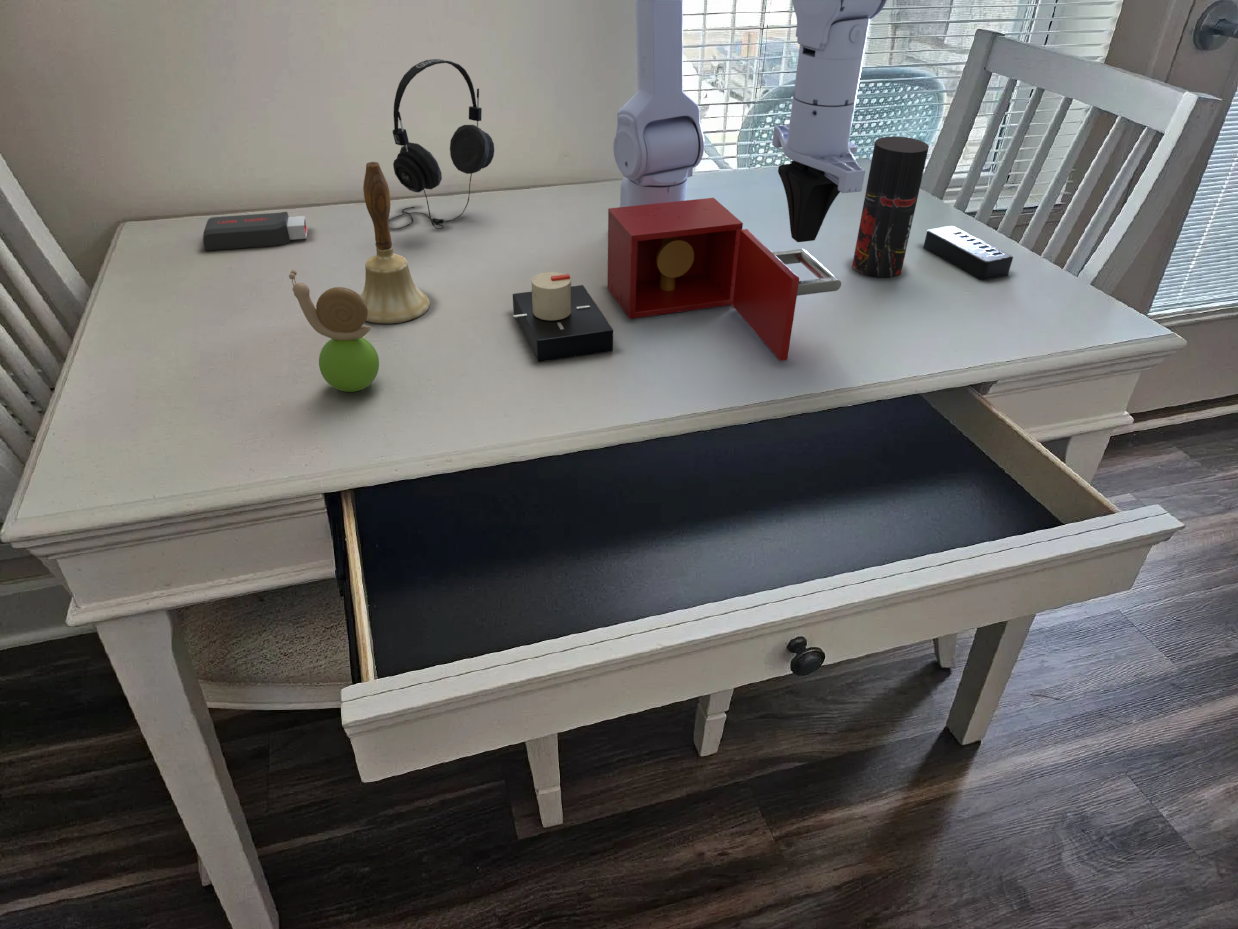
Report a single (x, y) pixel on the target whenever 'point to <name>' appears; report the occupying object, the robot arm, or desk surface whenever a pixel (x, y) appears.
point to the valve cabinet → (672, 256)
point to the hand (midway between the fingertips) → (803, 238)
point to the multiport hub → (968, 252)
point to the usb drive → (253, 231)
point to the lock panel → (564, 328)
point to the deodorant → (889, 206)
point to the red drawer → (774, 289)
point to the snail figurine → (341, 336)
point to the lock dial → (551, 296)
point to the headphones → (466, 145)
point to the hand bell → (387, 262)
